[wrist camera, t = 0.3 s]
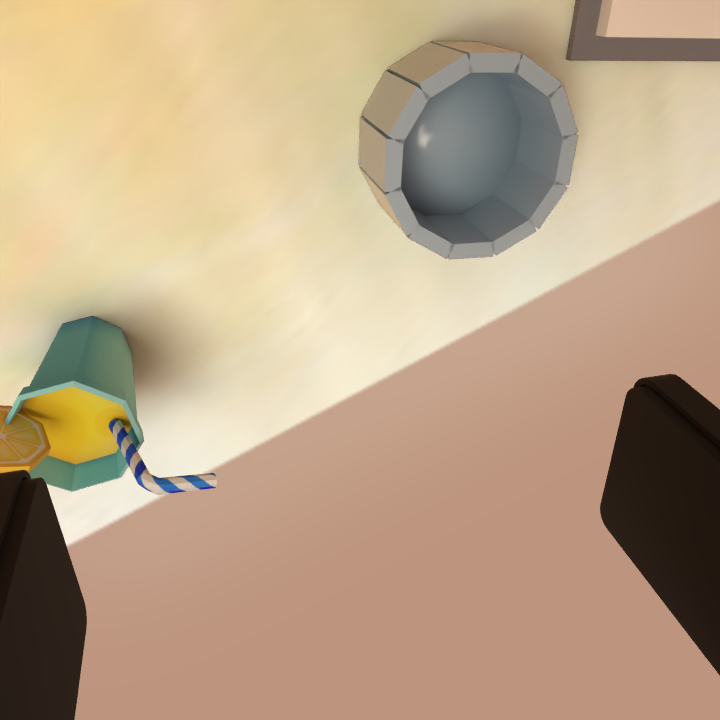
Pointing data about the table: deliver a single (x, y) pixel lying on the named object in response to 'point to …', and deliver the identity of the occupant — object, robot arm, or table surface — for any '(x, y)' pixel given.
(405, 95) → the bowl
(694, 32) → the lid
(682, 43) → the mat
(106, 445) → the cup
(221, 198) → the table surface
